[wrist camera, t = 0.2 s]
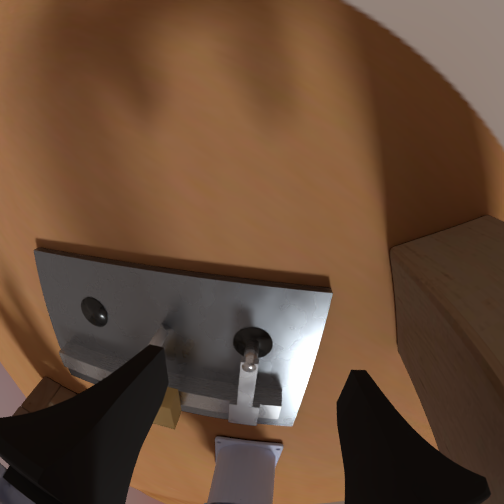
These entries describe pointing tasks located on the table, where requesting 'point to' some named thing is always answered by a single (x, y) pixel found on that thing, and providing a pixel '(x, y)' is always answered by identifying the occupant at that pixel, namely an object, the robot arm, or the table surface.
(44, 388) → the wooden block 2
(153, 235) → the table surface
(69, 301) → the hole plate
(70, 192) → the table surface
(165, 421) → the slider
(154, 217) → the table surface
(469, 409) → the wooden block
